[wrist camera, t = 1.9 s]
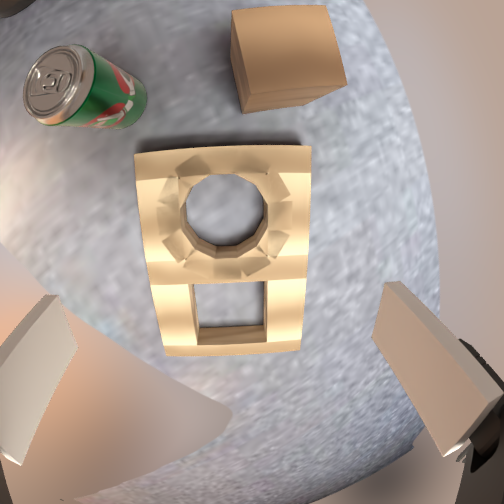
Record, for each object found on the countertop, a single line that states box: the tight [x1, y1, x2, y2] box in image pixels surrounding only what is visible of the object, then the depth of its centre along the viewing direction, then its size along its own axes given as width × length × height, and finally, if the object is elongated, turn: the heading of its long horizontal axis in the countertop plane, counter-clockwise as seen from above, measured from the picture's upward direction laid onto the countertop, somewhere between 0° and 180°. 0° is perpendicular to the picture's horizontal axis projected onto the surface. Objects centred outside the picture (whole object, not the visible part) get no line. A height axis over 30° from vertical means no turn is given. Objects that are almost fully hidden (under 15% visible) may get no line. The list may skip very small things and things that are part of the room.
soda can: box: [23, 44, 147, 129], centre depth 15 cm, size 5×5×12 cm
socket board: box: [134, 145, 311, 356], centre depth 25 cm, size 20×14×3 cm
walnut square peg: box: [230, 5, 347, 114], centre depth 17 cm, size 6×6×10 cm
